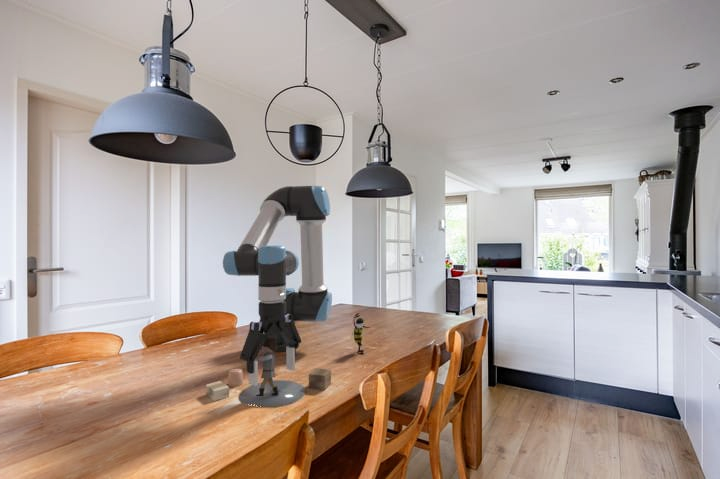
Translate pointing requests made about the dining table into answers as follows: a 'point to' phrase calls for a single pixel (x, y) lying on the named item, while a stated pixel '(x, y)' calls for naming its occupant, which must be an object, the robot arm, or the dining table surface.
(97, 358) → the dining table surface
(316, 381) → the walnut block
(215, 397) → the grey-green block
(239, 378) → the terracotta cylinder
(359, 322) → the toy
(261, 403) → the plate
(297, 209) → the robot arm
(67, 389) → the dining table surface
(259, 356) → the toy
